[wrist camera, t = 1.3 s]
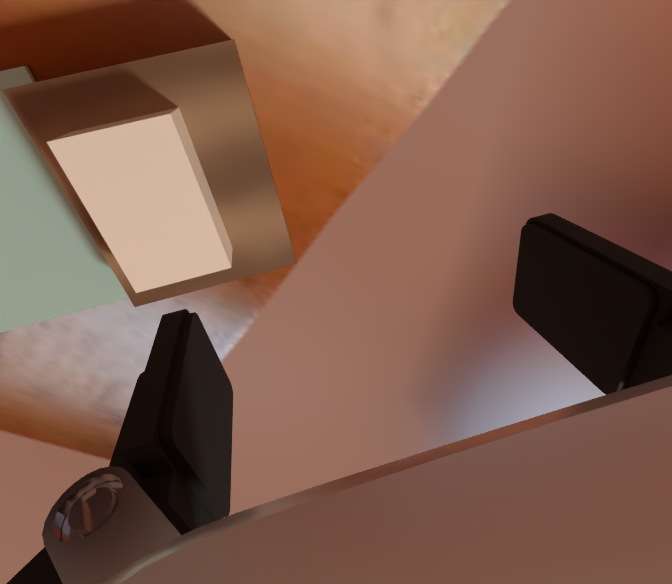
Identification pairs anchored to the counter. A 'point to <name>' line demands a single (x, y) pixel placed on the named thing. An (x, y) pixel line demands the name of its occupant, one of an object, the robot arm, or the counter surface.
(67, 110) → the plate
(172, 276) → the beige rectangular block
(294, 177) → the counter surface
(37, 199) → the mat
